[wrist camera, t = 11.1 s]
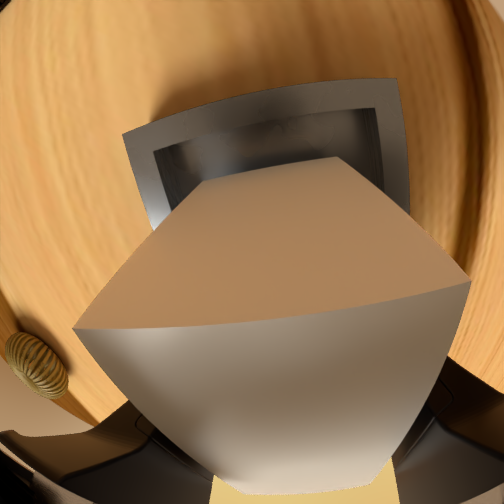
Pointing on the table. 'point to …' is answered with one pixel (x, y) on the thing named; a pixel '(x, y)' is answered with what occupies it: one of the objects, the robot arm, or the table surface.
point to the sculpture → (36, 365)
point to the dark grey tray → (273, 139)
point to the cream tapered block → (281, 326)
